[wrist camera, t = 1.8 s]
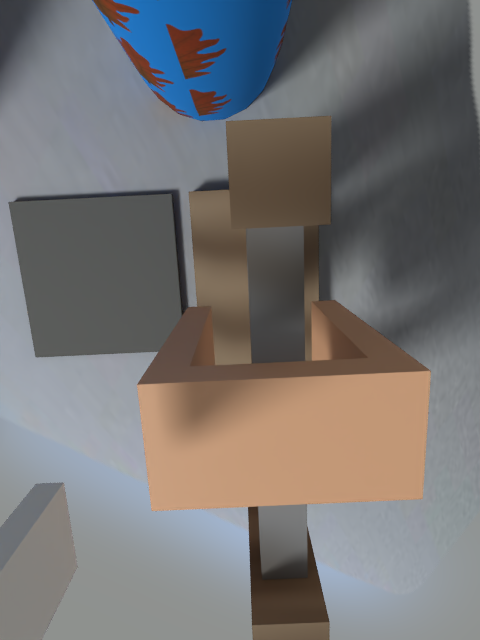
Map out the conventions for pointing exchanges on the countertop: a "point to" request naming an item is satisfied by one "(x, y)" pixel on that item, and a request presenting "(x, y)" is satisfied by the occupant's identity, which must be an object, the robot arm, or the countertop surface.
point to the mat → (99, 273)
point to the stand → (269, 322)
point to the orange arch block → (284, 420)
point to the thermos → (200, 49)
